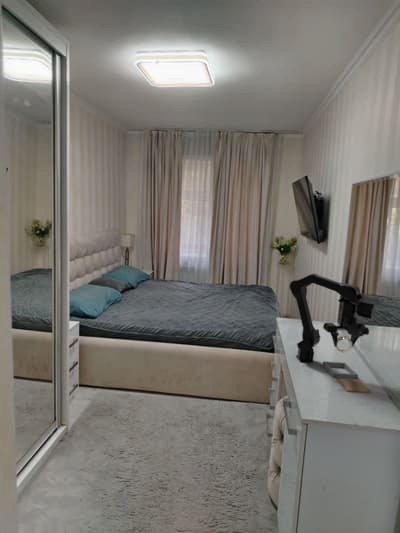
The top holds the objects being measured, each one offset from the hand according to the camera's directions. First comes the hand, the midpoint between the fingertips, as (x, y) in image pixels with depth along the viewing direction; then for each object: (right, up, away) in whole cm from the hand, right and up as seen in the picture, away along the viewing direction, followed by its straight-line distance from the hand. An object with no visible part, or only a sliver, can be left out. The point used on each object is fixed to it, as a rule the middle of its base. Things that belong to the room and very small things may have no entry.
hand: (343, 346), depth 164 cm
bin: (-1, -12, +2) cm, 12 cm away
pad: (0, -14, -11) cm, 18 cm away
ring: (0, -3, 0) cm, 3 cm away
